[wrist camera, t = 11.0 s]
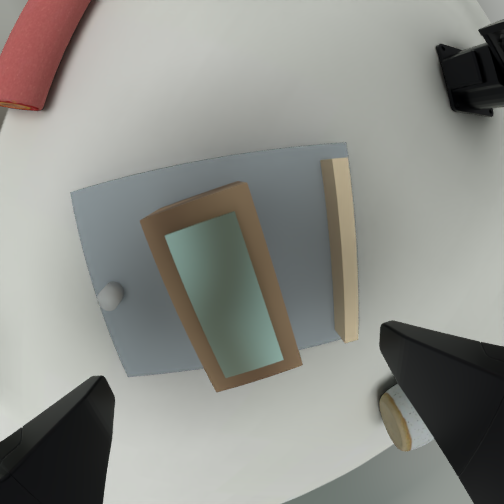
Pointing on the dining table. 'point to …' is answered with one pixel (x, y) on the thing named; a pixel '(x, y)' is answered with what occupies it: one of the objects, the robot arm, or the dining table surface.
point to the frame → (223, 285)
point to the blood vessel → (36, 51)
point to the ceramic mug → (403, 420)
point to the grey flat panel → (275, 233)
